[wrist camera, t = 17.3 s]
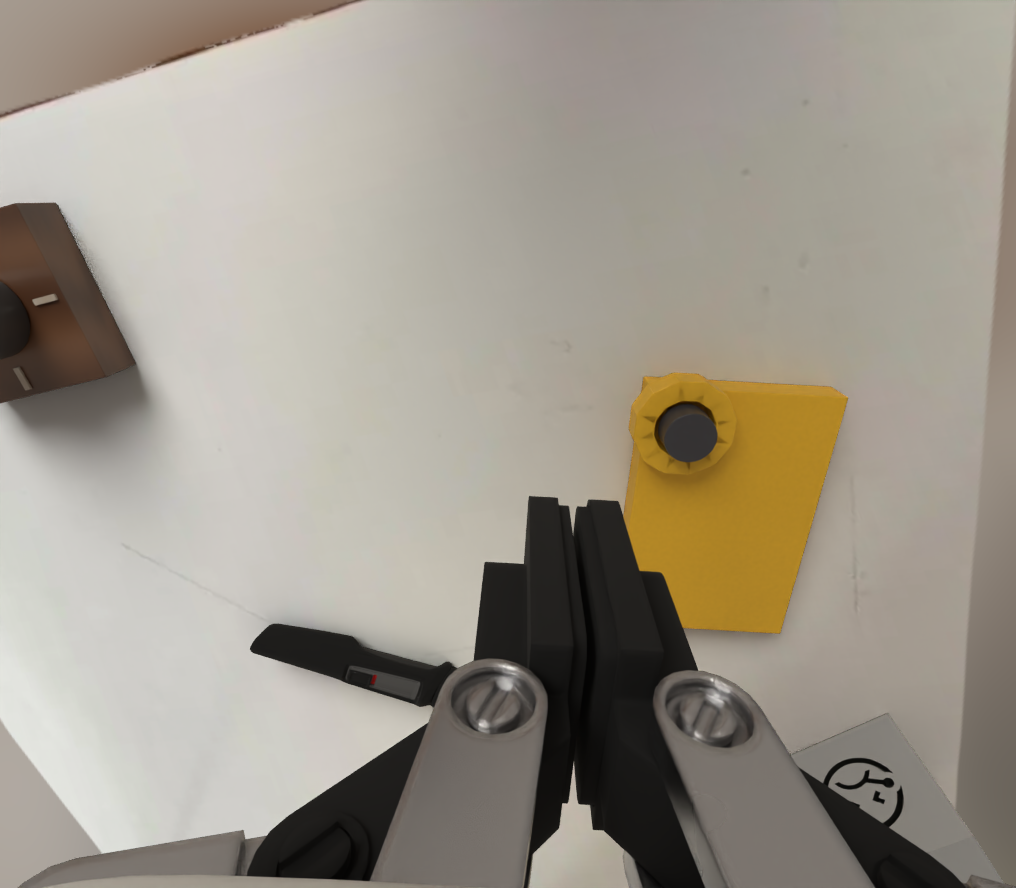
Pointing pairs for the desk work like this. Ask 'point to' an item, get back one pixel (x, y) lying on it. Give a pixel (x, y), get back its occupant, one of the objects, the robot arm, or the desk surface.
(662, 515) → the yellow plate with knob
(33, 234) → the dial panel
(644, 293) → the desk surface
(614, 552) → the robot arm
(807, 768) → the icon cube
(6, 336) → the dial knob
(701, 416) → the black cylindrical knob
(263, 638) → the electric trimmer
